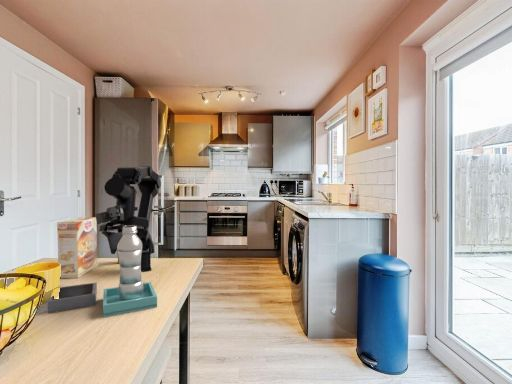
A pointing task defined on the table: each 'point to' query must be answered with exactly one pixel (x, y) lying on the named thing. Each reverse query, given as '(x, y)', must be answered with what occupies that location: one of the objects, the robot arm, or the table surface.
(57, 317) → the table surface
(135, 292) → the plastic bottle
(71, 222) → the coffeecake box
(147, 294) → the tray
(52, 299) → the open frame
